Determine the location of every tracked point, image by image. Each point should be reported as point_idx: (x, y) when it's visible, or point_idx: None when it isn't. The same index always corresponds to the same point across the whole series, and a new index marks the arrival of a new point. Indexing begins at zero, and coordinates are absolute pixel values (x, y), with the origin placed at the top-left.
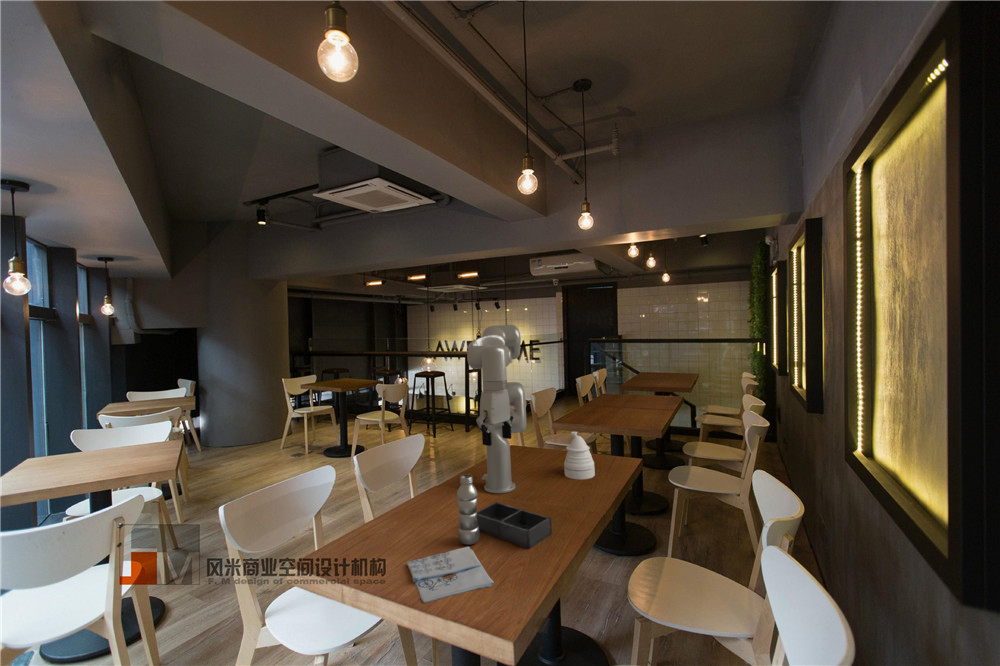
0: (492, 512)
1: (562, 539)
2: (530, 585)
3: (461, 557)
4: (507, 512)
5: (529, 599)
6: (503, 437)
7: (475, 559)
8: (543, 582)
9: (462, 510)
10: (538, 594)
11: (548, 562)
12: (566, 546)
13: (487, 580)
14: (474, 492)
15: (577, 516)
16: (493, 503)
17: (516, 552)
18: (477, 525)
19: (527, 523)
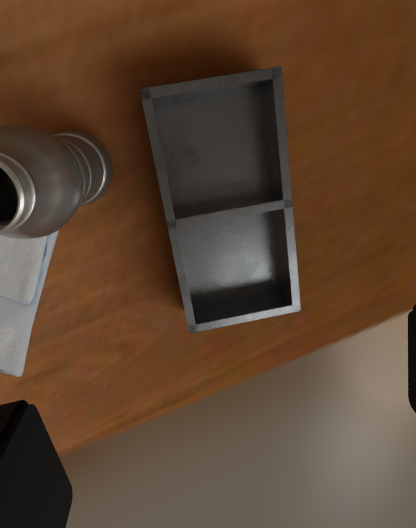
0: (239, 87)
1: (279, 327)
2: (86, 414)
3: (3, 243)
4: (271, 138)
5: (55, 442)
6: (412, 322)
7: (27, 285)
8: (114, 420)
9: (6, 193)
10: (80, 440)
11: (176, 377)
12: (258, 355)
13: (10, 365)
14: (38, 235)
15: (411, 265)
16: (262, 70)
17: (151, 302)
18: (90, 198)
19: (274, 222)
